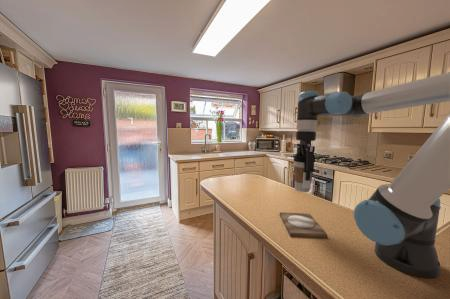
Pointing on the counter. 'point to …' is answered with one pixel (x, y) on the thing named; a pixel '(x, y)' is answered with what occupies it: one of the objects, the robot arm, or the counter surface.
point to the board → (302, 225)
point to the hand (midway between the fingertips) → (302, 184)
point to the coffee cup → (300, 173)
